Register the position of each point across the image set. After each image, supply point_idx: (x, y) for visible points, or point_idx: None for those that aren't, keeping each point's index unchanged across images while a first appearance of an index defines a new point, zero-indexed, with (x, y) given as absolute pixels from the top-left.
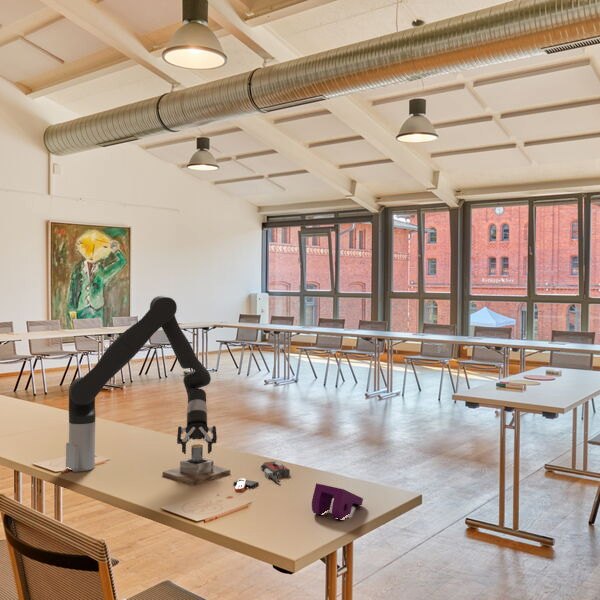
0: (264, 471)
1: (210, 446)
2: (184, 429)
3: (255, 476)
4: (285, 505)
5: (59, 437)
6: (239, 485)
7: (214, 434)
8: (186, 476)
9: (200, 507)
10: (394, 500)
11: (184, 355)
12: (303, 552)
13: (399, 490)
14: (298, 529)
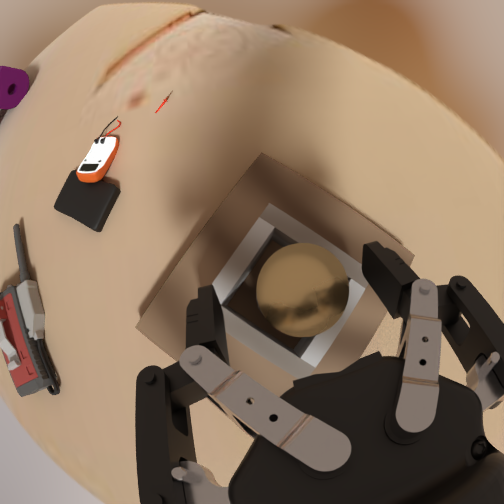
0: (35, 311)
1: (196, 321)
2: (481, 393)
3: (63, 300)
4: (46, 103)
5: None
6: (101, 140)
7: (153, 418)
8: (305, 203)
9: (204, 42)
10: None
11: None
12: (86, 15)
13: None
14: (66, 45)
